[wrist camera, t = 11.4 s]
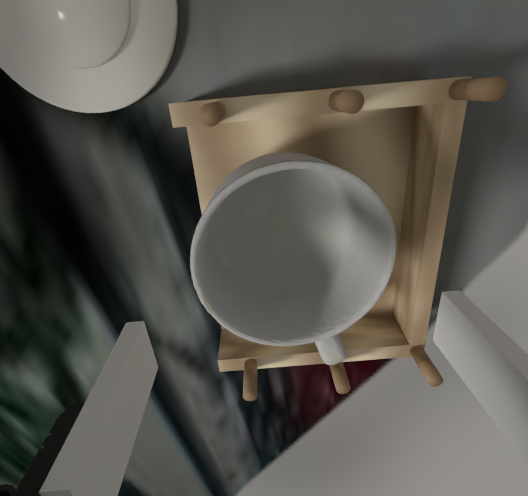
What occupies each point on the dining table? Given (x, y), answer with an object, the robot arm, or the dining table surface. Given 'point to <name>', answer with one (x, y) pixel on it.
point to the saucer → (87, 49)
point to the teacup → (292, 252)
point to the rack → (368, 169)
